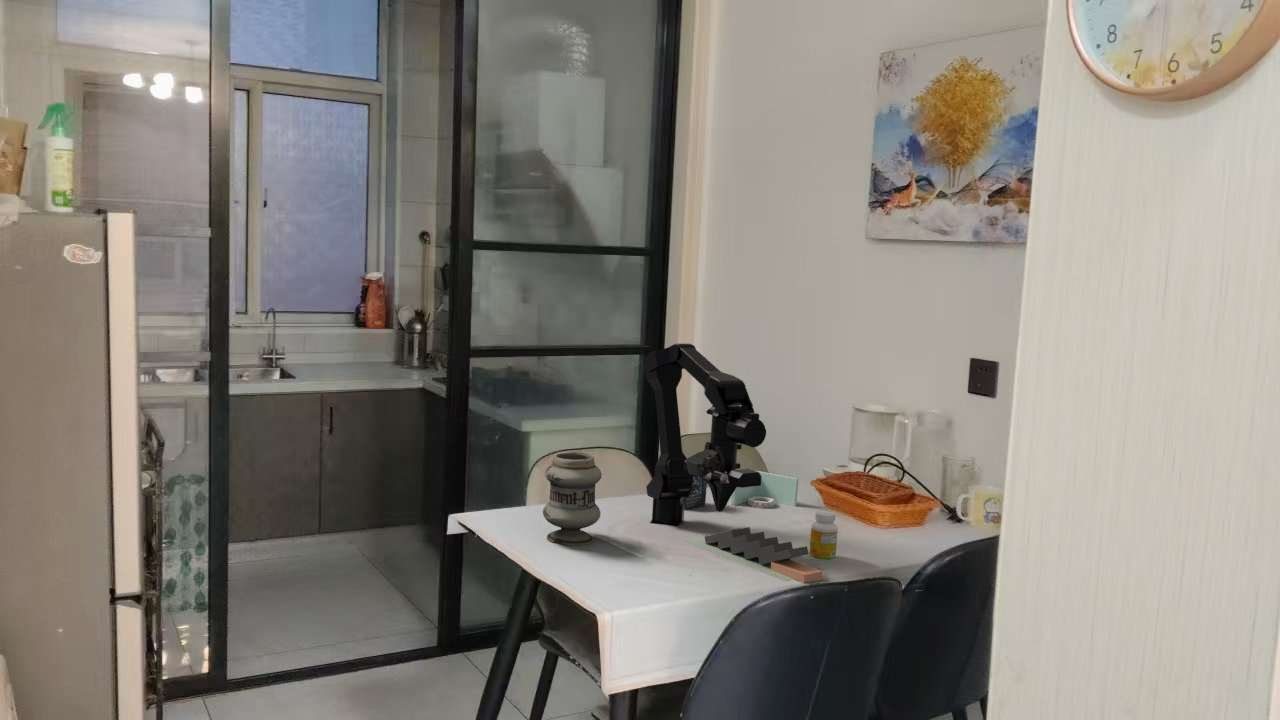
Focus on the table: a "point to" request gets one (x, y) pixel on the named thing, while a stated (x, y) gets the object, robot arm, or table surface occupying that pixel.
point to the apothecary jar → (572, 497)
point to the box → (696, 494)
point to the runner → (739, 558)
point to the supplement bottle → (823, 537)
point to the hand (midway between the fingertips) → (719, 511)
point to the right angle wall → (768, 492)
